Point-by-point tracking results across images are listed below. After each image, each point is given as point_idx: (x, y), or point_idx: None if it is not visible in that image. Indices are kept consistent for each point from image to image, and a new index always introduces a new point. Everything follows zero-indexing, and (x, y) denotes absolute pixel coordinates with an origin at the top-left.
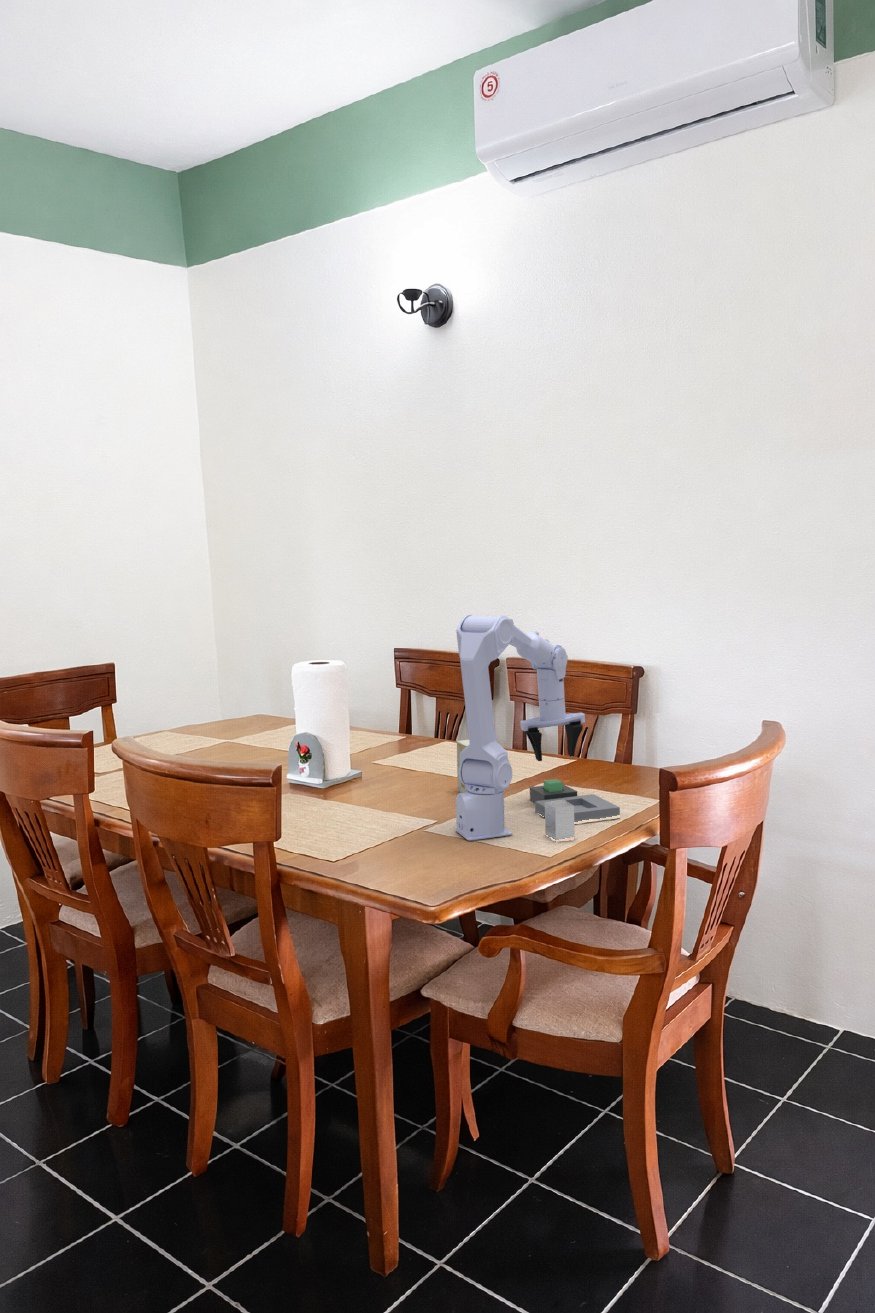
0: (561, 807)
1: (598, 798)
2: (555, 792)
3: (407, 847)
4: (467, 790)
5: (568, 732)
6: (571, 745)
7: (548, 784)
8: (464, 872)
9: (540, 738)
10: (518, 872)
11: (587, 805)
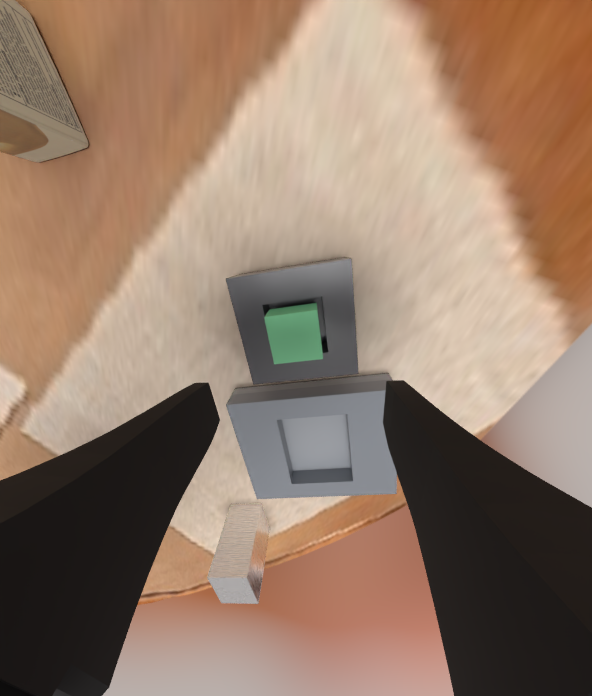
0: (233, 602)
1: None
2: (292, 367)
3: None
4: (14, 155)
5: (464, 570)
6: (406, 482)
7: (273, 355)
8: None
9: (129, 604)
10: (181, 580)
11: (348, 434)
